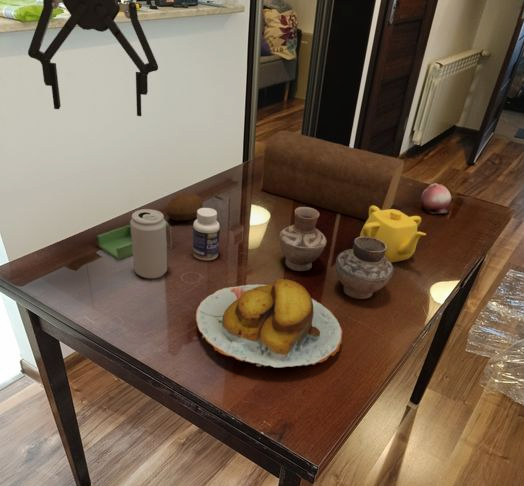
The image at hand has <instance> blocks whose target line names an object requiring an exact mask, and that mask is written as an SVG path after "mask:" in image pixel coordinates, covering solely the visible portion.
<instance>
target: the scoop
mask: <svg viewBox="0 0 524 486" xmlns="http://www.w3.org/2000/svg"><path fill="white" fill-rule="evenodd" d="M165 221H166V229H168V228H169V222H168V221H167V220H165ZM96 236H97V237H96V238H97V244H98V245H97V246H98V248H100V249H101V250H103V251H105V252H106V253H107V254H109V255H111V256H112V257H114V258H115V259H117V260H118V261H121V260H123V259H126V258H128V257H131V256H133V249H132V237H131V225H130V224H126V225H124V226H120V227H117V228H115V229H112V230H110V231H106V232H103V233H100V234H97V235H96Z"/></svg>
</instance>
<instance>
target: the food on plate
mask: <svg viewBox="0 0 524 486" xmlns="http://www.w3.org/2000/svg"><path fill="white" fill-rule="evenodd" d="M194 314H195V318H194V320H195V322H196V327H197V328H198V331H199V332H200V333H201V334H202V336H201V339H205V341H206V342H207V343H208V344H210V345H211V346H212V347H213V349H214V351H217V352H218V353H220V356H222V355H224V356H227V357H232V358H235V360H238V361H241V362H245V363H250V364H255V366H256V367H258V368H259V367H262V366H263V367H269V366H270V367H273V368H287V367H290V368H293V367H296V366H297V367H301V366H309V365H313V366H315V365H316V364H317V363H323V362H324V361H327V360H328V359H329V357H330V356H332V357H334V356H335V355H336V354H337V352H339V350H340V347H341V344H342V343H343V333H344V330H343V328H342V326H341V324H340V323H339V320H338V319H337V318H336V317H335V315H334V313H332V311H331V310H330V309H329V308H327V307H325V306H324V305H323V304H322V303H320V302H318V301H317V300H316V299H314V298H312V297H311V294H310V293H309V291H307V289H306V288H305V287H304V285H302V284H300V283H298V282H296V281H294V280H291V279H288V278H284V279H282V278H277V279H275V280H274V282H273V284H246V285H237V286H230V287H227V286H226V287H223V288H221V289H217V290H216V291H214V292H212V294H210V295H208V296H206V297H205V298H204V299H203V300H200V302H199V304H198V306H197V307H196V310H195V313H194Z"/></svg>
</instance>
